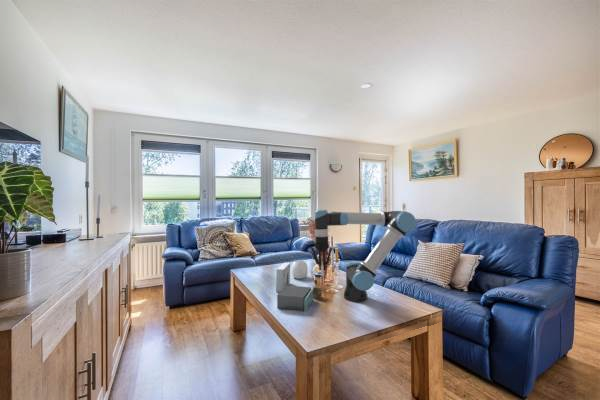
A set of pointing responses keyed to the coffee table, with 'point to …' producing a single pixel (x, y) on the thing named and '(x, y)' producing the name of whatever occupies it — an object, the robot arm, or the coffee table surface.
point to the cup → (299, 269)
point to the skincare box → (282, 277)
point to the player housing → (292, 298)
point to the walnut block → (316, 292)
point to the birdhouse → (308, 300)
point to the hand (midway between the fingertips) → (322, 275)
